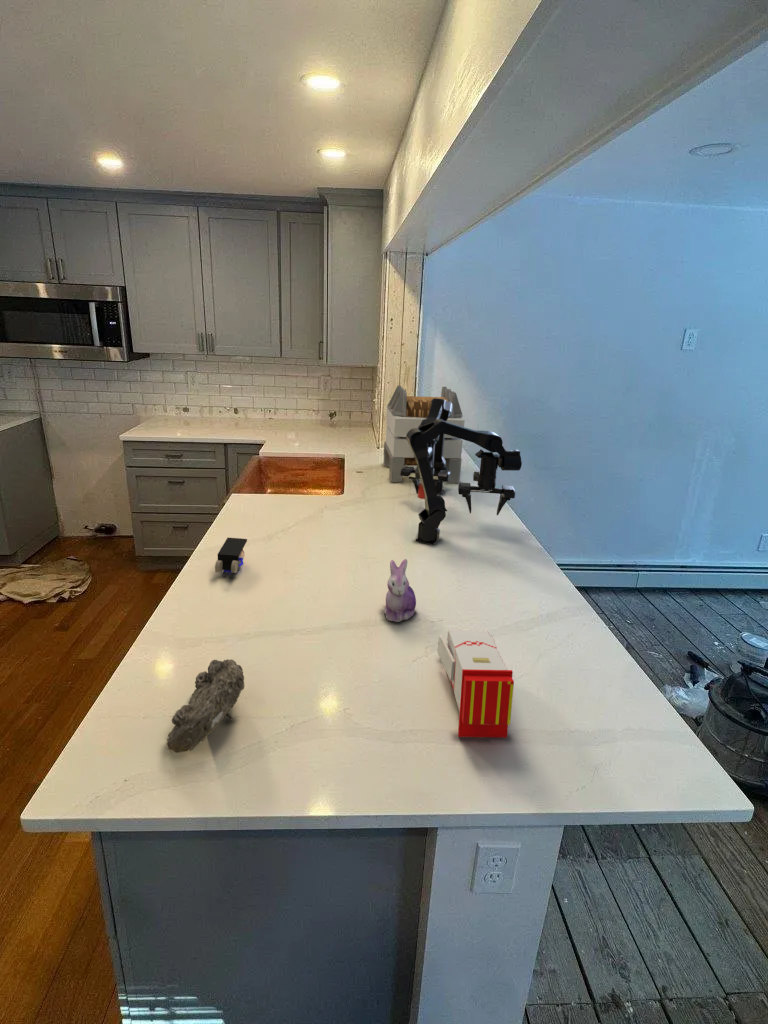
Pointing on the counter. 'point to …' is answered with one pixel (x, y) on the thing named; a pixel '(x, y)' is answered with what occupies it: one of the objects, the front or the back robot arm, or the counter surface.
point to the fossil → (206, 705)
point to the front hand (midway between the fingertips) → (483, 513)
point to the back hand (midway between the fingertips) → (424, 494)
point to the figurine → (399, 594)
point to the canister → (421, 491)
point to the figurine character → (230, 556)
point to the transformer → (410, 415)
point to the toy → (478, 682)
